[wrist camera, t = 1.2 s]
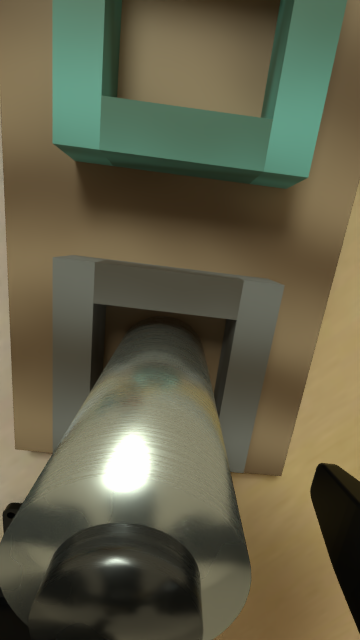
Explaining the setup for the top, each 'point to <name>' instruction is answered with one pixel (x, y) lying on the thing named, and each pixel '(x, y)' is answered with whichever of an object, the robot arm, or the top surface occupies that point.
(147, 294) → the dock plate
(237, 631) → the top surface
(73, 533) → the steel pin
